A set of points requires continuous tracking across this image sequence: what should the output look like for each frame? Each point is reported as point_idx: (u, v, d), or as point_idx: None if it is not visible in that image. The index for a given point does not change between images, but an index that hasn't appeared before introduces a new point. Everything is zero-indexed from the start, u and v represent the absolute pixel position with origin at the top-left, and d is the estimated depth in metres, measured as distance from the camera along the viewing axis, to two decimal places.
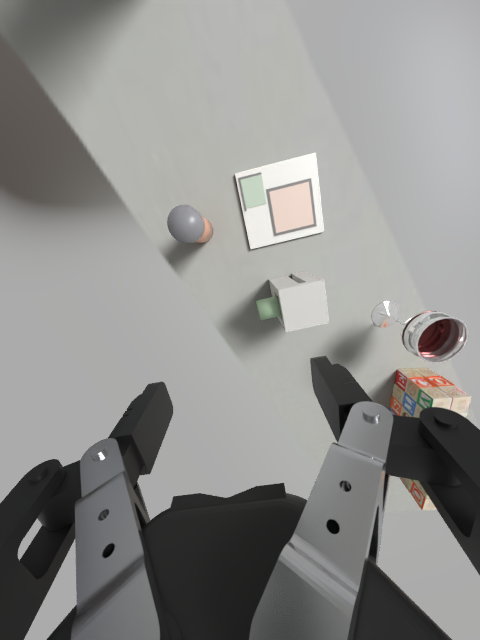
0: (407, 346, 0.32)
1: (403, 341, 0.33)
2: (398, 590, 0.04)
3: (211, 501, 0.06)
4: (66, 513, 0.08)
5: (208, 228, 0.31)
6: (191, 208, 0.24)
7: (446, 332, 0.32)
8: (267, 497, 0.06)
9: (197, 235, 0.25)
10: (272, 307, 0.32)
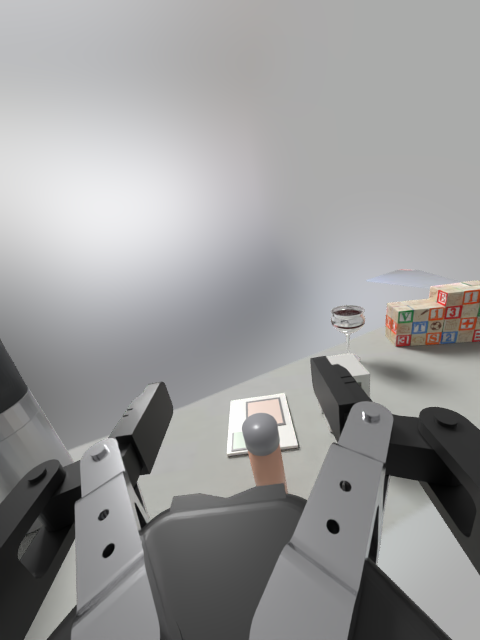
0: (358, 322, 0.47)
1: (356, 326, 0.47)
2: (398, 590, 0.04)
3: (211, 501, 0.06)
4: (66, 514, 0.08)
5: None
6: (246, 419, 0.25)
7: None
8: (267, 497, 0.06)
9: (271, 417, 0.25)
10: None
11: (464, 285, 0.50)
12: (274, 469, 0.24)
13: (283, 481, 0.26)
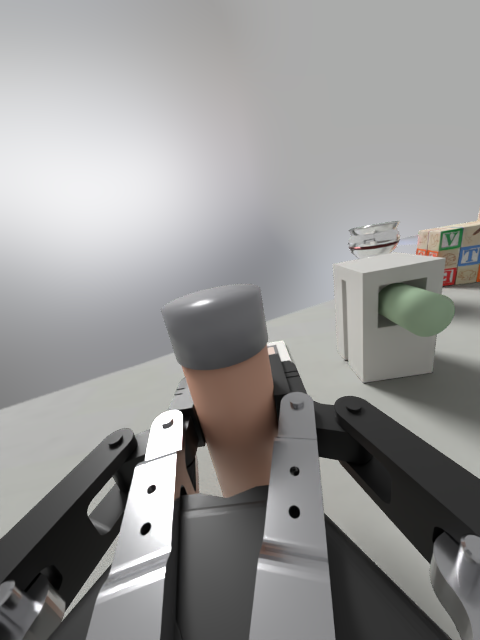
0: (392, 237, 0.32)
1: (388, 243, 0.32)
2: (398, 590, 0.04)
3: (211, 502, 0.06)
4: None
5: None
6: None
7: None
8: (267, 497, 0.06)
9: (247, 285, 0.10)
10: (406, 290, 0.17)
11: None
12: (253, 418, 0.09)
13: None
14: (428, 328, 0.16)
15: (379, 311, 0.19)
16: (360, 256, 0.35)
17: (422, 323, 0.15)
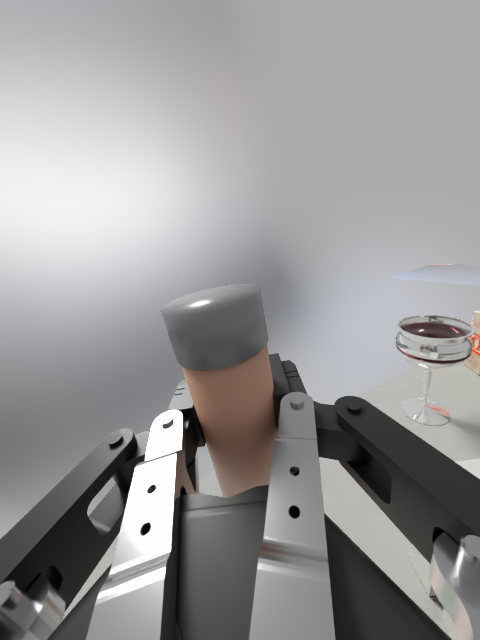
0: (465, 352, 0.23)
1: (460, 359, 0.23)
2: (398, 590, 0.04)
3: (211, 501, 0.06)
4: None
5: None
6: (184, 296, 0.10)
7: (417, 335, 0.29)
8: (267, 497, 0.06)
9: (247, 285, 0.10)
10: None
11: None
12: (253, 419, 0.09)
13: None
14: None
15: None
16: (415, 364, 0.26)
17: None
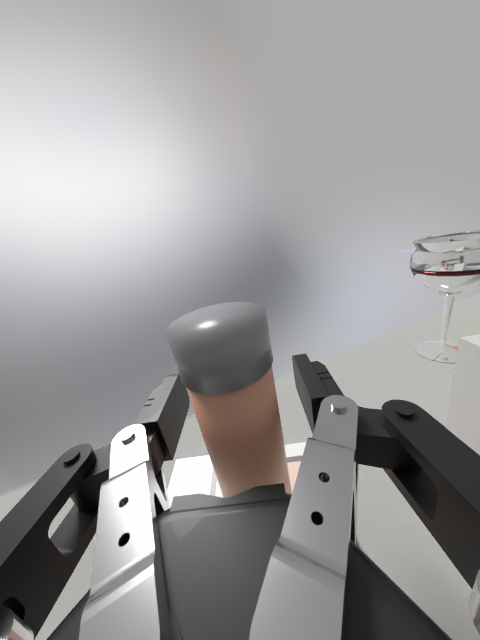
0: None
1: None
2: (398, 590, 0.04)
3: (211, 501, 0.06)
4: (98, 494, 0.08)
5: None
6: (188, 313, 0.10)
7: None
8: (267, 497, 0.06)
9: (251, 304, 0.10)
10: None
11: None
12: (258, 439, 0.09)
13: (283, 472, 0.10)
14: None
15: None
16: (434, 285, 0.22)
17: None
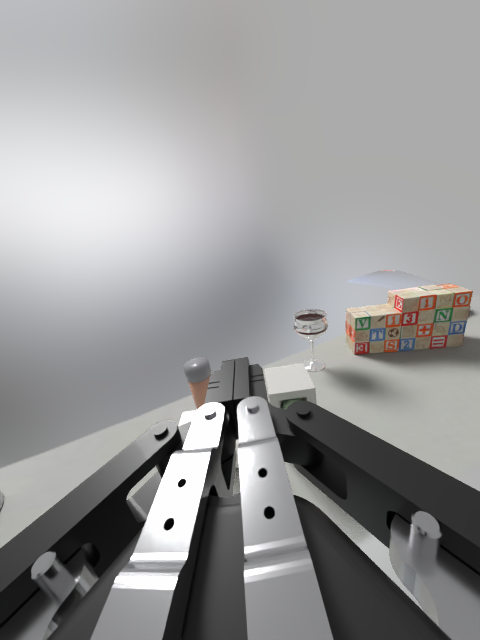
0: (319, 328, 0.44)
1: (317, 332, 0.44)
2: (398, 590, 0.04)
3: (211, 501, 0.06)
4: None
5: None
6: (188, 361, 0.35)
7: (308, 320, 0.50)
8: None
9: (206, 359, 0.35)
10: None
11: (420, 290, 0.48)
12: None
13: None
14: None
15: None
16: None
17: None
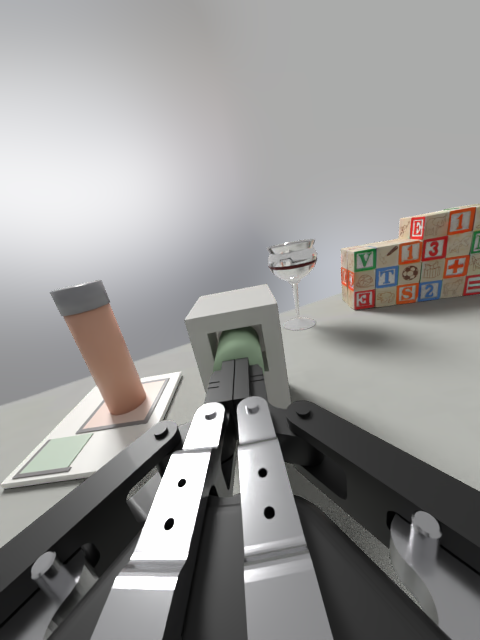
0: (304, 257, 0.29)
1: (301, 264, 0.29)
2: (398, 590, 0.04)
3: (211, 502, 0.06)
4: None
5: None
6: None
7: None
8: None
9: (99, 280, 0.20)
10: (227, 337, 0.15)
11: None
12: (95, 340, 0.19)
13: (120, 364, 0.21)
14: None
15: None
16: (278, 276, 0.32)
17: None
